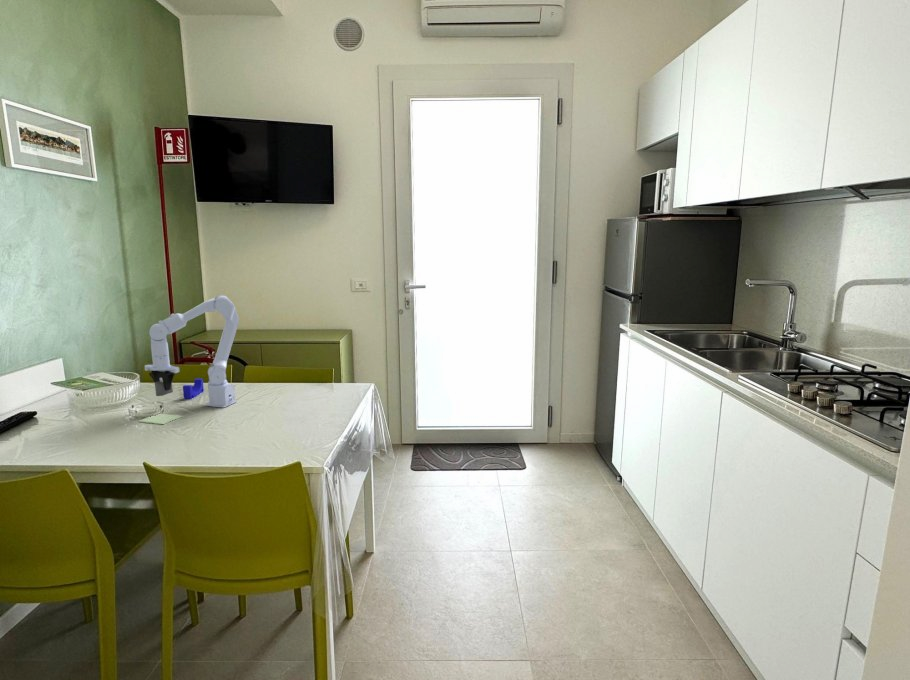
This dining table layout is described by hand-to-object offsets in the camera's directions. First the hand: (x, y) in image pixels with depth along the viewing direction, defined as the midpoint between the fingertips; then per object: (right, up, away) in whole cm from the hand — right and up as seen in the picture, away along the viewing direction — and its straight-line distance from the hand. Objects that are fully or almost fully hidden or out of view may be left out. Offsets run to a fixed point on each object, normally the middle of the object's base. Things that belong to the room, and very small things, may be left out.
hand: (164, 389), depth 207 cm
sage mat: (+3, -10, -8) cm, 14 cm away
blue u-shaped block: (0, -5, +22) cm, 23 cm away
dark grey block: (0, -2, 0) cm, 2 cm away
